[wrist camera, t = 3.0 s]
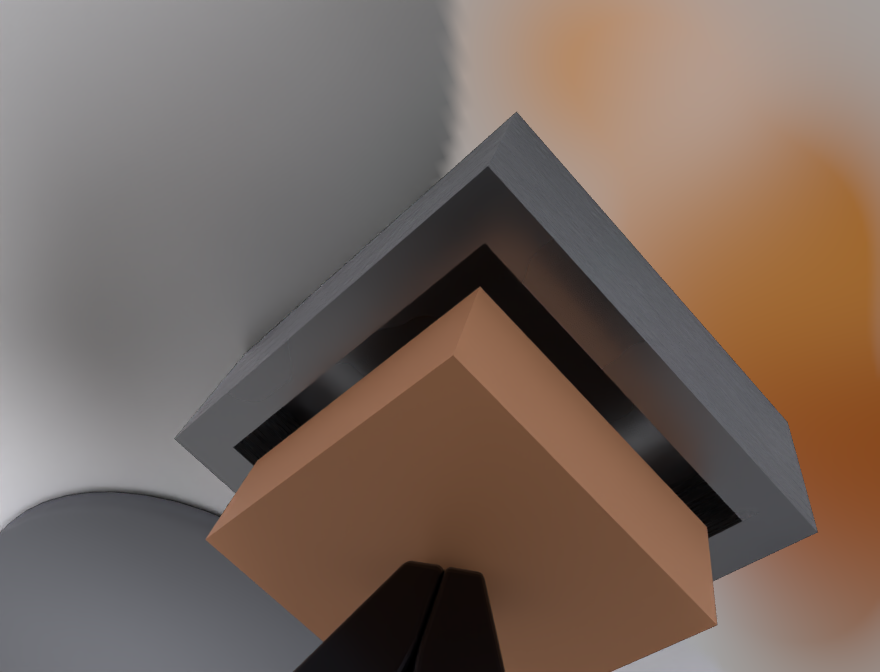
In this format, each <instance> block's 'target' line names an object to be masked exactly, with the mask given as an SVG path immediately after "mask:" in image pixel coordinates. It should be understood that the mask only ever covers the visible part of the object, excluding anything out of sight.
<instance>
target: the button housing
mask: <svg viewBox="0 0 880 672" xmlns="http://www.w3.org/2000/svg"><path fill="white" fill-rule="evenodd" d="M479 287H481V288H482V289H483V290H484V291H485V292H486V293H487V294H488V296H489V297H490V298H491V299H492V300H493V301H494V302H495V303H496V304H497V305H498V306H499V307H500V308H501V309H502V310H503V311H504V312H505V314H506V315H507V316H508V317H509V318H510V319H511V320H512V321H513V322H514V323H515V324H516V325H517V326H518V327H519V328H520V329H521V330H522V332H523V333H524V334H525V335H526V336H527V337H528V338H529V339H530V340H531V341H532V342H533V343H534V344H535V345H536V346H537V347H538V348H539V350H540V351H541V352H542V353H543V354H544V355H545V356H546V357H547V358H548V359H549V360H550V361H551V362H552V363H553V364H554V365H555V367H556V368H557V369H558V370H559V371H560V372H561V373H562V374H563V375H564V376H565V377H566V378H567V379H568V380H569V381H570V382H571V383H572V385H573V386H574V387H575V388H576V389H577V390H578V391H579V392H580V393H581V394H582V395H583V396H584V397H585V398H586V399H587V400H588V401H589V403H590V404H591V405H592V406H593V407H594V408H595V409H596V410H597V411H598V412H599V413H600V414H601V415H602V416H603V417H604V418H605V420H606V421H607V422H608V423H609V424H610V425H611V426H612V427H613V428H614V429H615V430H616V431H617V432H618V433H619V434H620V435H621V436H622V438H623V439H624V440H625V441H626V442H627V443H628V444H629V445H630V446H631V447H632V448H633V449H634V450H635V451H636V452H637V453H638V454H639V456H640V457H641V458H642V459H643V460H644V461H645V462H646V463H647V464H648V465H649V466H650V467H651V468H652V469H653V470H654V471H655V472H656V474H657V475H658V476H659V477H660V478H661V479H662V480H663V481H664V482H665V483H666V484H667V485H668V486H669V487H670V488H671V489H672V491H673V492H674V493H675V494H676V495H677V496H678V497H679V498H680V499H681V500H682V501H683V502H684V503H685V504H686V505H687V506H688V507H689V509H690V510H691V511H692V512H693V513H694V514H695V515H696V516H697V517H698V518H699V519H700V520H701V521H702V522H703V523H704V524H705V525H706V527H707V531H708V541H709V550H710V560H711V569H712V579H713V581H715V580H717V579H719V578H721V577H723V576H725V575H727V574H729V573H732V572H734V571H736V570H738V569H740V568H742V567H745V566H747V565H749V564H751V563H753V562H755V561H757V560H760V559H762V558H764V557H766V556H768V555H770V554H772V553H775V552H776V551H779V550H781V549H783V548H785V547H787V546H789V545H792V544H794V543H796V542H798V541H800V540H802V539H804V538H806V537H809V536H811V535H813V534H815V533H817V532H818V531H817V528H816V524H815V520H814V517H813V513H812V510H811V506H810V502H809V499H808V495H807V491H806V488H805V484H804V480H803V477H802V473H801V469H800V466H799V462H798V458H797V455H796V452H795V447H794V444H793V440H792V437H791V433H790V429H789V426H788V422H787V421H786V420H785V419H784V418H783V417H782V415H781V414H780V413H779V412H778V411H777V410H776V409H775V407H774V406H773V405H772V404H771V403H770V402H769V401H768V399H767V398H766V397H765V396H764V395H763V394H762V392H761V391H760V390H759V389H758V388H757V387H756V386H755V384H754V383H753V382H752V381H751V380H750V379H749V378H748V377H747V376H746V374H745V373H744V372H743V371H742V370H741V368H740V367H739V366H738V365H737V364H736V363H735V362H734V360H733V359H732V358H731V357H730V356H729V355H728V354H727V352H726V351H725V350H724V349H723V348H722V347H721V345H720V344H719V343H718V342H717V341H716V340H715V339H714V337H713V336H712V335H711V334H710V333H709V332H708V331H707V330H706V328H705V327H704V326H703V325H702V324H701V323H700V322H699V320H698V319H697V318H696V317H695V316H694V315H693V313H692V312H691V311H690V310H689V309H688V308H687V307H686V305H685V304H684V303H683V302H682V301H681V300H680V299H679V297H678V296H677V295H676V294H675V293H674V292H673V290H672V289H671V288H670V287H669V286H668V285H667V284H666V282H665V281H664V280H663V279H662V278H661V277H660V276H659V275H658V273H657V272H656V271H655V270H654V269H653V268H652V266H651V265H650V264H649V263H648V262H647V261H646V260H645V259H644V258H643V256H642V255H641V254H640V253H639V252H638V251H637V249H636V248H635V247H634V246H633V245H632V243H631V242H630V241H629V240H628V239H627V238H626V237H625V235H624V234H623V233H622V232H621V231H620V230H619V229H618V227H617V226H616V225H615V224H614V223H613V222H612V221H611V219H610V218H609V217H608V216H607V215H606V214H605V213H604V211H603V210H602V209H601V208H600V207H599V206H598V205H597V203H596V202H595V201H594V200H593V199H592V198H591V197H590V196H589V194H588V193H587V192H586V191H585V190H584V188H583V187H582V186H581V185H580V184H579V183H578V182H577V180H576V179H575V178H574V177H573V176H572V175H571V174H570V172H569V171H568V170H567V169H566V168H565V167H564V166H563V164H562V163H561V162H560V161H559V160H558V159H557V158H556V156H555V155H554V154H553V153H552V152H551V151H550V150H549V148H548V147H547V146H546V145H545V144H544V143H543V141H542V140H541V139H540V138H539V137H538V136H537V135H536V134H535V132H534V131H533V130H532V129H531V128H530V127H529V126H528V124H527V123H526V122H525V121H524V120H523V119H522V118H521V116H520V115H519V114H518V113H517V112H516V113H515V114H513V115H512V116H511V117H510V118H509V119H508V120H507V121H506V122H505V123H503V124H502V125H501V126H500V127H499V128H498V129H497V130H496V131H494V132H493V133H492V134H491V135H490V136H489V137H488V138H487V139H485V140H484V141H483V142H482V143H481V144H480V145H479V146H478V147H476V148H475V149H474V150H473V151H472V152H471V153H470V154H469V155H467V156H466V157H465V158H464V159H463V160H462V161H461V162H460V163H458V164H457V165H456V166H455V167H454V168H453V169H452V170H451V171H450V172H448V173H447V174H446V175H445V176H444V177H443V178H442V179H441V180H439V181H438V182H437V183H436V184H435V185H434V186H433V187H432V188H430V189H429V190H428V191H427V192H426V193H425V194H424V195H423V196H422V197H420V198H419V199H418V200H417V201H416V202H415V203H414V204H413V205H411V206H410V207H409V208H408V209H407V210H406V211H405V212H404V213H402V214H401V215H400V216H399V217H398V218H397V219H396V220H395V221H393V222H392V223H391V224H390V225H389V226H388V227H387V228H386V229H385V230H383V231H382V232H381V233H380V234H379V235H378V236H377V237H376V238H374V239H373V240H372V241H371V242H370V243H369V244H368V245H367V246H365V247H364V248H363V249H362V250H361V251H360V252H359V253H358V254H357V255H355V256H354V257H353V258H352V259H351V260H350V261H349V262H348V263H346V264H345V265H344V266H343V267H342V268H341V269H340V270H339V271H337V272H336V273H335V274H334V275H333V276H332V277H331V278H330V279H328V280H327V281H326V282H325V283H324V284H323V285H322V286H321V287H320V288H318V289H317V290H316V291H315V292H314V293H313V294H312V295H311V296H309V297H308V298H307V299H306V300H305V301H304V302H303V303H302V304H300V305H299V306H298V307H297V308H296V309H295V310H294V311H293V312H292V313H290V314H289V315H288V316H287V317H286V318H285V319H284V320H283V321H281V322H280V323H279V324H278V325H277V326H276V327H275V328H274V329H272V330H271V331H270V332H269V333H268V334H267V335H266V336H265V337H264V338H262V339H261V340H260V341H259V342H258V343H257V344H256V345H255V346H253V347H252V348H251V349H250V350H249V351H248V352H247V353H246V354H244V356H243V357H242V358H241V359H240V360H239V362H238V363H237V364H236V365H235V366H234V368H233V369H232V370H231V371H230V372H229V374H228V375H227V376H226V377H225V378H224V380H223V381H222V382H221V383H220V384H219V386H218V387H217V388H216V389H215V390H214V392H213V393H212V394H211V395H210V396H209V398H208V399H207V400H206V401H205V402H204V404H203V405H202V406H201V407H200V408H199V410H198V411H197V412H196V413H195V414H194V416H193V417H192V418H191V419H190V420H189V422H188V423H187V424H186V425H185V426H184V428H183V429H182V430H181V431H180V432H179V434H178V435H177V436H176V437H175V438H174V439H175V440H176V441H177V442H178V443H180V444H181V445H182V446H183V447H184V448H185V449H186V450H187V451H189V452H190V453H191V454H192V455H193V456H194V457H195V458H196V459H198V460H199V461H200V462H201V463H202V464H203V465H204V466H205V467H206V468H208V469H209V470H210V471H211V472H212V473H213V474H214V475H215V476H217V477H218V478H219V479H220V480H221V481H222V482H223V483H224V484H226V485H227V486H228V487H229V488H230V489H231V490H232V491H233V492H235V493H236V492H237V491H238V489H239V488H240V486H241V484H242V483H243V481H244V480H245V478H246V477H247V475H248V474H249V472H250V471H251V469H252V468H253V466H254V465H255V463H256V462H257V460H259V459H260V458H261V457H263V456H264V455H265V454H266V453H268V452H269V451H270V450H272V449H273V448H274V447H275V446H277V445H278V444H279V443H280V442H282V441H283V440H284V439H286V438H287V437H288V436H289V435H291V434H292V433H293V432H295V431H296V430H297V429H298V428H300V427H301V426H302V425H303V424H305V423H306V422H307V421H309V420H310V419H311V418H312V417H314V416H315V415H316V414H318V413H319V412H320V411H321V410H323V409H324V408H325V407H327V406H328V405H329V404H330V403H332V402H333V401H334V400H335V399H337V398H338V397H339V396H341V395H342V394H343V393H344V392H346V391H347V390H348V389H350V388H351V387H352V386H353V385H355V384H356V383H357V382H358V381H360V380H361V379H362V378H364V377H365V376H366V375H367V374H369V373H370V372H371V371H373V370H374V369H375V368H376V367H378V366H379V365H380V364H382V363H383V362H384V361H385V360H387V359H388V358H389V357H390V356H392V355H393V354H394V353H396V352H397V351H398V350H399V349H401V348H402V347H403V346H405V345H406V344H407V343H408V342H410V341H411V340H412V339H413V338H415V337H416V336H417V335H419V334H420V333H421V332H422V331H424V330H425V329H426V328H428V327H429V326H430V325H431V324H433V323H434V322H435V321H437V320H438V319H439V318H440V317H442V316H443V315H444V314H445V313H447V312H448V311H449V310H451V309H452V308H453V307H454V306H456V305H457V304H458V303H460V302H461V301H462V300H463V299H465V298H466V297H467V296H468V295H470V294H471V293H472V292H474V291H475V290H476V289H477V288H479Z"/></svg>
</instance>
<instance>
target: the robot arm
mask: <svg viewBox="0 0 880 672" xmlns="http://www.w3.org/2000/svg"><path fill="white" fill-rule="evenodd" d="M293 672H505V668H504V664H503V659H502V654H501V650H500V645H499V641H498V636H497V632H496V627H495V623H494V618H493V614H492V609H491V605H490V600H489V596H488V591H487V587H486V582H485V578H484V576H483V574H482V573H481V572H478V571H472V570H466V569H460V568H454V567H449V568H447V569H446V570H445V571H444V569H443V568H442V567H441V566H440V565H436V564H430V563H423V562H417V561H407V562H405V563H404V564H402V565H401V566H400V567H399V568H398V569H397V570H396V571H395V572H394V573H393V574H392V575H391V576H390V577H389V578H388V579H387V580H386V581H385V582H384V583H383V584H382V585H381V586H380V587H379V588H378V589H377V590H376V591H375V592H374V593H373V594H372V595H371V596H370V597H369V598H368V599H367V600H366V601H365V602H364V603H363V604H361V605H360V606H359V607H358V608H357V609H356V610H355V611H354V612H353V613H352V614H351V615H350V616H349V617H348V618H347V619H346V620H345V621H344V622H343V623H342V624H341V625H340V626H339V627H338V628H337V629H336V630H335V631H334V632H333V633H332V634H331V635H330V636H329V637H328V638H327V639H326V640H325V641H324V642H323V643H322V644H321V645H320V646H319V647H318V648H317V649H316V650H315V651H314V652H313V653H312V654H311V655H309V656H308V657H307V658H306V659H305V660H304V661H303V662H302V663H301V664H300V665H299V666H298V667H297V668H296V669H295V670H294V671H293Z"/></svg>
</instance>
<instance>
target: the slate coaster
mask: <svg viewBox="0 0 880 672" xmlns="http://www.w3.org/2000/svg"><path fill="white" fill-rule="evenodd" d="M219 518H220V517H218V516H216V515H214V514H211V513H209V512H207V511H203V510H200V509H197V508H194V507H191V506H188V505H185V504H181V503H178V502H175V501H170V500H165V499H161V498H156V497H151V496H147V495H138V494H128V493H118V492H105V493H84V494H77V495H70V496H64V497H61V498H57V499H54V500H51V501H47V502H44V503H42V504H40V505H38V506H35V507H33V508H31V509H29V510H27V511H25V512H24V513H22V514H21V515H20V516H18V517H17V518H16V519H14V520H13V521H12V522H10V523H9V524H8V525H7V526H6V527H5V528H4V529H3V530H2V531H1V532H0V672H293V671H294V670H295V669H296V668H297V667H298V666H299V665H300V664H301V663H302V662H303V661H304V660H305V659H306V658H307V657H308V656H309V655H311V654H312V653H313V652H314V651H315V650H316V649H317V648H318V647H319V646H320V645H321V644H322V643H323V641H322V640H321V639H320V638H319V637H317V636H316V635H315V634H314V633H313V632H312V631H310V630H309V629H308V628H307V627H306V626H305V625H303V624H302V623H301V622H300V621H299V620H298V619H297V618H295V617H294V616H293V615H292V614H291V613H290V612H288V611H287V610H286V609H285V608H284V607H283V606H282V605H280V604H279V603H278V602H277V601H276V600H275V599H273V598H272V597H271V596H270V595H269V594H268V593H266V592H265V591H264V590H263V589H262V588H261V587H260V586H258V585H257V584H256V583H255V582H254V581H253V580H251V579H250V578H249V577H248V576H247V575H246V574H245V573H243V572H242V571H241V570H240V569H239V568H238V567H236V566H235V565H234V564H233V563H232V562H231V561H229V560H228V559H227V558H226V557H225V556H224V555H223V554H221V553H220V552H219V551H218V550H217V549H216V548H214V547H213V546H212V545H211V544H210V543H209V542H207V541H206V540H205V539H206V538H207V536H208V535H209V533H210V532H211V530H212V529H213V527H214V526H215V524H216V522H217V521H218V519H219Z"/></svg>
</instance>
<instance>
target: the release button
mask: <svg viewBox="0 0 880 672" xmlns="http://www.w3.org/2000/svg"><path fill="white" fill-rule="evenodd" d="M205 540H206V541H207V542H209V543H210V544H211V545H212V546H213V547H214V548H216V549H217V550H218V551H219V552H220V553H221V554H223V555H224V556H225V557H226V558H227V559H228V560H229V561H231V562H232V563H233V564H234V565H235V566H236V567H238V568H239V569H240V570H241V571H242V572H243V573H245V574H246V575H247V576H248V577H249V578H250V579H251V580H253V581H254V582H255V583H256V584H257V585H258V586H260V587H261V588H262V589H263V590H264V591H265V592H266V593H268V594H269V595H270V596H271V597H272V598H273V599H275V600H276V601H277V602H278V603H279V604H280V605H282V606H283V607H284V608H285V609H286V610H287V611H288V612H290V613H291V614H292V615H293V616H294V617H295V618H297V619H298V620H299V621H300V622H301V623H302V624H303V625H305V626H306V627H307V628H308V629H309V630H310V631H312V632H313V633H314V634H315V635H316V636H317V637H319V638H320V639H321V640H322V641H323V642H324V641H325V640H326V639H327V638H328V637H329V636H330V635H331V634H332V633H333V632H334V631H335V630H336V629H337V628H338V627H339V626H340V625H341V624H342V623H343V622H344V621H345V620H346V619H347V618H348V617H349V616H350V615H351V614H352V613H353V612H354V611H355V610H356V609H357V608H358V607H359V606H360V605H361V604H363V603H364V602H365V601H366V600H367V599H368V598H369V597H370V596H371V595H372V594H373V593H374V592H375V591H376V590H377V589H378V588H379V587H380V586H381V585H382V584H383V583H384V582H385V581H386V580H387V579H388V578H389V577H390V576H391V575H392V574H393V573H394V572H395V571H396V570H397V569H398V568H399V567H400V566H401V565H402V564H404V563H405V562H407V561H417V562H423V563H430V564H436V565H440V566H441V567H442V568H443V569H444V571H445V570H446V569H447V568H449V567H454V568H460V569H466V570H472V571H478V572H481V573H482V574H483V576H484V578H485V582H486V587H487V591H488V596H489V600H490V605H491V609H492V614H493V618H494V623H495V627H496V632H497V636H498V641H499V645H500V650H501V654H502V659H503V664H504V668H505V672H611V671H614V670H616V669H618V668H621V667H623V666H625V665H627V664H630V663H632V662H634V661H637V660H639V659H641V658H643V657H646V656H648V655H650V654H653V653H655V652H657V651H659V650H662V649H664V648H666V647H669V646H671V645H673V644H675V643H678V642H680V641H682V640H684V639H687V638H689V637H691V636H694V635H696V634H698V633H700V632H703V631H705V630H707V629H710V628H712V627H714V626H716V625H717V617H716V607H715V598H714V588H713V579H712V569H711V560H710V550H709V541H708V531H707V527H706V525H705V524H704V523H703V522H702V521H701V520H700V519H699V518H698V517H697V516H696V515H695V514H694V513H693V512H692V511H691V510H690V509H689V507H688V506H687V505H686V504H685V503H684V502H683V501H682V500H681V499H680V498H679V497H678V496H677V495H676V494H675V493H674V492H673V491H672V489H671V488H670V487H669V486H668V485H667V484H666V483H665V482H664V481H663V480H662V479H661V478H660V477H659V476H658V475H657V474H656V472H655V471H654V470H653V469H652V468H651V467H650V466H649V465H648V464H647V463H646V462H645V461H644V460H643V459H642V458H641V457H640V456H639V454H638V453H637V452H636V451H635V450H634V449H633V448H632V447H631V446H630V445H629V444H628V443H627V442H626V441H625V440H624V439H623V438H622V436H621V435H620V434H619V433H618V432H617V431H616V430H615V429H614V428H613V427H612V426H611V425H610V424H609V423H608V422H607V421H606V420H605V418H604V417H603V416H602V415H601V414H600V413H599V412H598V411H597V410H596V409H595V408H594V407H593V406H592V405H591V404H590V403H589V401H588V400H587V399H586V398H585V397H584V396H583V395H582V394H581V393H580V392H579V391H578V390H577V389H576V388H575V387H574V386H573V385H572V383H571V382H570V381H569V380H568V379H567V378H566V377H565V376H564V375H563V374H562V373H561V372H560V371H559V370H558V369H557V368H556V367H555V365H554V364H553V363H552V362H551V361H550V360H549V359H548V358H547V357H546V356H545V355H544V354H543V353H542V352H541V351H540V350H539V348H538V347H537V346H536V345H535V344H534V343H533V342H532V341H531V340H530V339H529V338H528V337H527V336H526V335H525V334H524V333H523V332H522V330H521V329H520V328H519V327H518V326H517V325H516V324H515V323H514V322H513V321H512V320H511V319H510V318H509V317H508V316H507V315H506V314H505V312H504V311H503V310H502V309H501V308H500V307H499V306H498V305H497V304H496V303H495V302H494V301H493V300H492V299H491V298H490V297H489V296H488V294H487V293H486V292H485V291H484V290H483V289H482V288H481V287H479V288H477V289H476V290H475V291H474V292H472V293H471V294H470V295H468V296H467V297H466V298H465V299H463V300H462V301H461V302H460V303H458V304H457V305H456V306H454V307H453V308H452V309H451V310H449V311H448V312H447V313H445V314H444V315H443V316H442V317H440V318H439V319H438V320H437V321H435V322H434V323H433V324H431V325H430V326H429V327H428V328H426V329H425V330H424V331H422V332H421V333H420V334H419V335H417V336H416V337H415V338H413V339H412V340H411V341H410V342H408V343H407V344H406V345H405V346H403V347H402V348H401V349H399V350H398V351H397V352H396V353H394V354H393V355H392V356H390V357H389V358H388V359H387V360H385V361H384V362H383V363H382V364H380V365H379V366H378V367H376V368H375V369H374V370H373V371H371V372H370V373H369V374H367V375H366V376H365V377H364V378H362V379H361V380H360V381H358V382H357V383H356V384H355V385H353V386H352V387H351V388H350V389H348V390H347V391H346V392H344V393H343V394H342V395H341V396H339V397H338V398H337V399H335V400H334V401H333V402H332V403H330V404H329V405H328V406H327V407H325V408H324V409H323V410H321V411H320V412H319V413H318V414H316V415H315V416H314V417H312V418H311V419H310V420H309V421H307V422H306V423H305V424H303V425H302V426H301V427H300V428H298V429H297V430H296V431H295V432H293V433H292V434H291V435H289V436H288V437H287V438H286V439H284V440H283V441H282V442H280V443H279V444H278V445H277V446H275V447H274V448H273V449H272V450H270V451H269V452H268V453H266V454H265V455H264V456H263V457H261V458H260V459H259V460H257V462H256V463H255V465H254V466H253V468H252V469H251V471H250V472H249V474H248V475H247V477H246V478H245V480H244V481H243V483H242V484H241V486H240V488H239V489H238V491H237V492H236V494H235V495H234V497H233V498H232V500H231V501H230V503H229V504H228V506H227V507H226V509H225V510H224V512H223V513H222V515H221V516H220V518H219V519H218V521H217V522H216V524H215V526H214V527H213V529H212V530H211V532H210V533H209V535H208V536H207V538H206V539H205Z"/></svg>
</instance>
